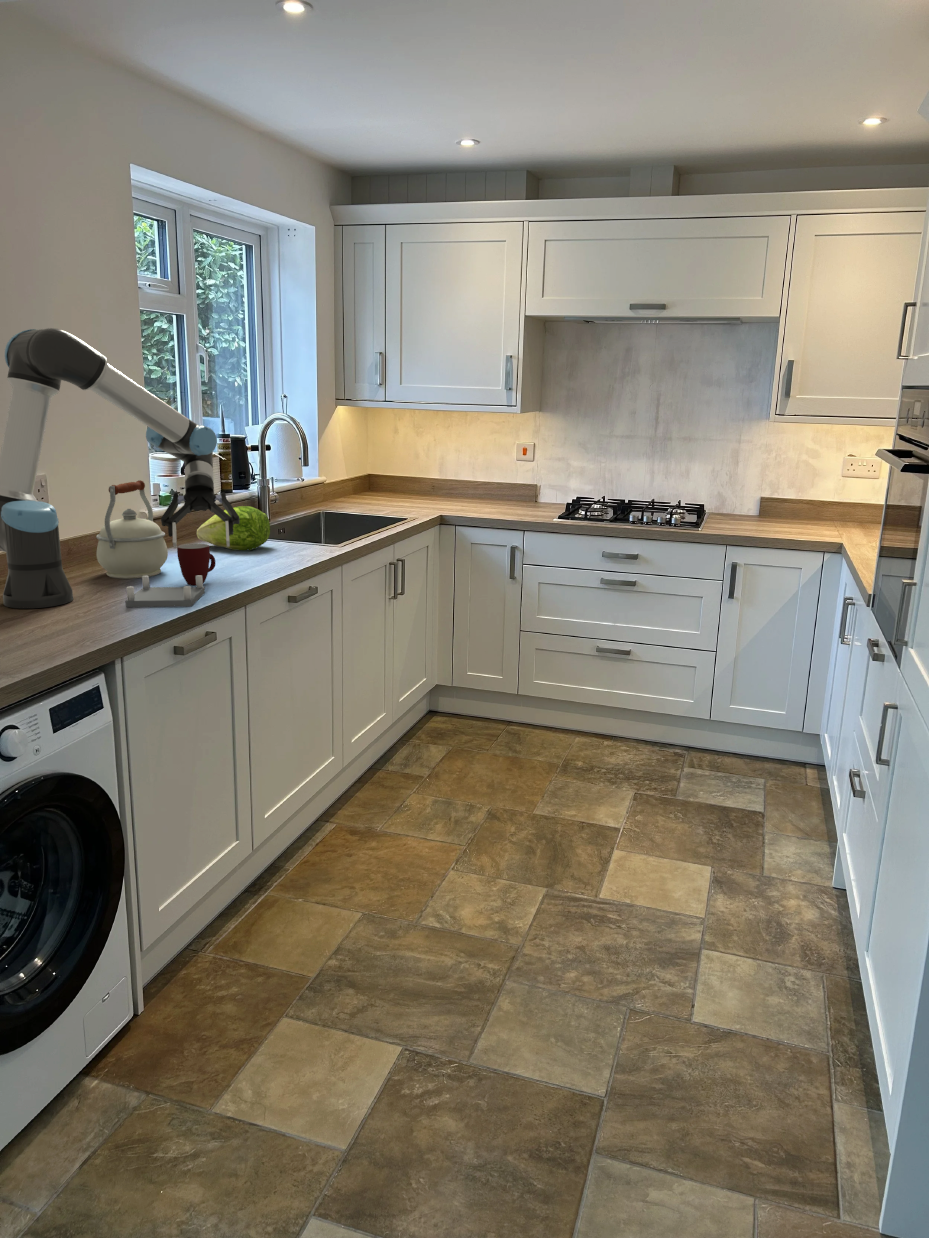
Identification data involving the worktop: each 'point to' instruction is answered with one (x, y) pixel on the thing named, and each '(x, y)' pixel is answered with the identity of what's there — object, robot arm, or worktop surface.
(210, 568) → the mug
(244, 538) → the lettuce
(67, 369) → the robot arm
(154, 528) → the kettle
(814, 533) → the worktop surface
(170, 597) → the post board
